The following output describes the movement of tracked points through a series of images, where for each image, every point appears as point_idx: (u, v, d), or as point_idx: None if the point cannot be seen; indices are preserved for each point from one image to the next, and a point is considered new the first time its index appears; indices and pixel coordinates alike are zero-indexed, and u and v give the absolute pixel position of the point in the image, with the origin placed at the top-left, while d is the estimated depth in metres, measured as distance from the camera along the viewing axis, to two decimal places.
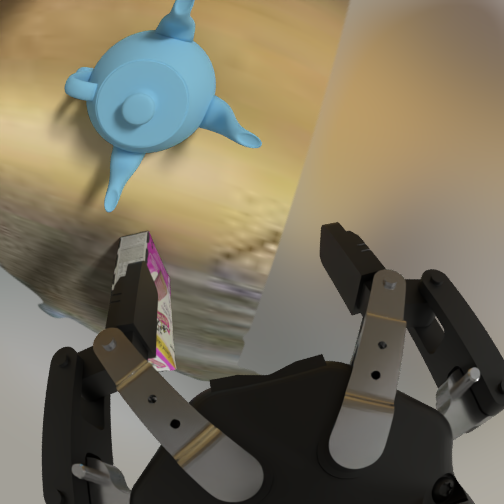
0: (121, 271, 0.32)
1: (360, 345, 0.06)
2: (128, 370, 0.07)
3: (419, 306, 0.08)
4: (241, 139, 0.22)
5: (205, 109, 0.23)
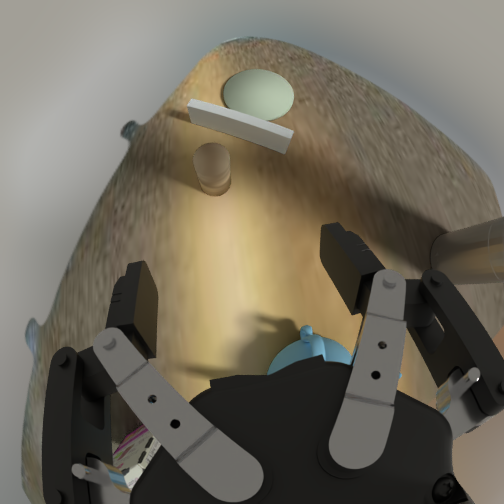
0: None
1: (360, 345, 0.06)
2: (128, 370, 0.07)
3: (419, 306, 0.08)
4: None
5: None
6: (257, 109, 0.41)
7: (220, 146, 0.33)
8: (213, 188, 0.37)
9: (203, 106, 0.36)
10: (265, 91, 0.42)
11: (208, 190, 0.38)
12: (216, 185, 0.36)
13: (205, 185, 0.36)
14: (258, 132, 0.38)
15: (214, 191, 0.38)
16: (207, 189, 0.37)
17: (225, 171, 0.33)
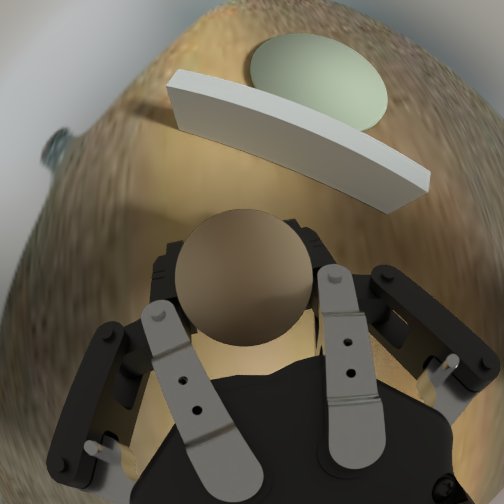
0: None
1: (326, 348, 0.06)
2: (169, 345, 0.08)
3: (368, 302, 0.09)
4: None
5: None
6: (325, 108, 0.18)
7: (276, 225, 0.09)
8: None
9: (209, 86, 0.13)
10: (335, 73, 0.19)
11: None
12: None
13: None
14: (350, 165, 0.15)
15: None
16: None
17: None
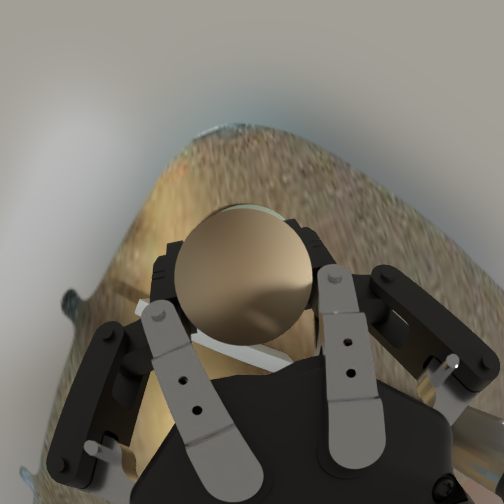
0: None
1: (326, 348, 0.06)
2: (169, 345, 0.08)
3: (368, 302, 0.09)
4: None
5: None
6: None
7: (276, 224, 0.09)
8: None
9: None
10: None
11: None
12: None
13: None
14: None
15: None
16: None
17: None
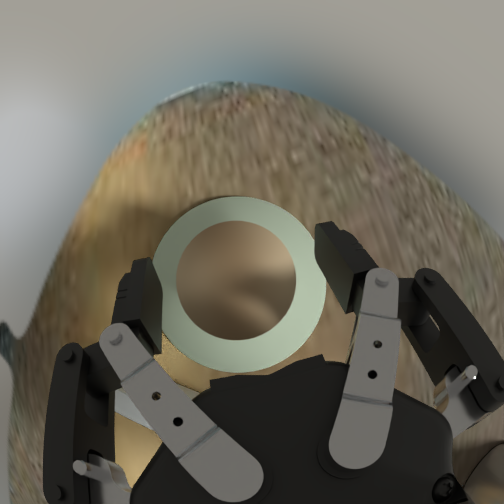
0: None
1: (355, 345, 0.06)
2: (133, 366, 0.07)
3: (412, 305, 0.08)
4: None
5: None
6: (232, 343, 0.18)
7: (264, 235, 0.11)
8: None
9: None
10: None
11: None
12: None
13: None
14: None
15: None
16: None
17: None
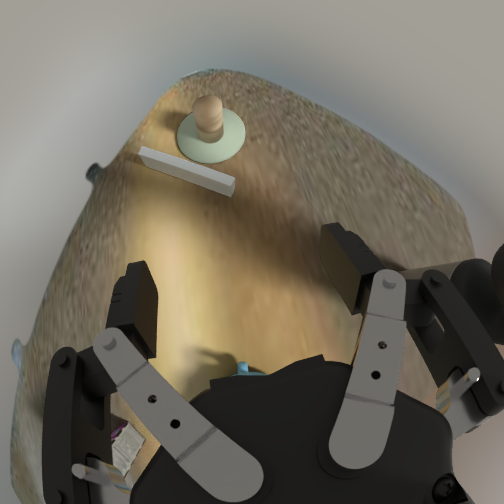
0: (120, 444, 0.31)
1: (360, 345, 0.06)
2: (128, 370, 0.07)
3: (419, 306, 0.08)
4: None
5: None
6: (207, 152, 0.45)
7: (215, 98, 0.38)
8: (207, 134, 0.42)
9: (152, 154, 0.39)
10: None
11: (203, 135, 0.43)
12: (210, 130, 0.41)
13: (201, 130, 0.41)
14: (202, 179, 0.41)
15: (208, 137, 0.43)
16: (202, 135, 0.42)
17: (217, 116, 0.38)
